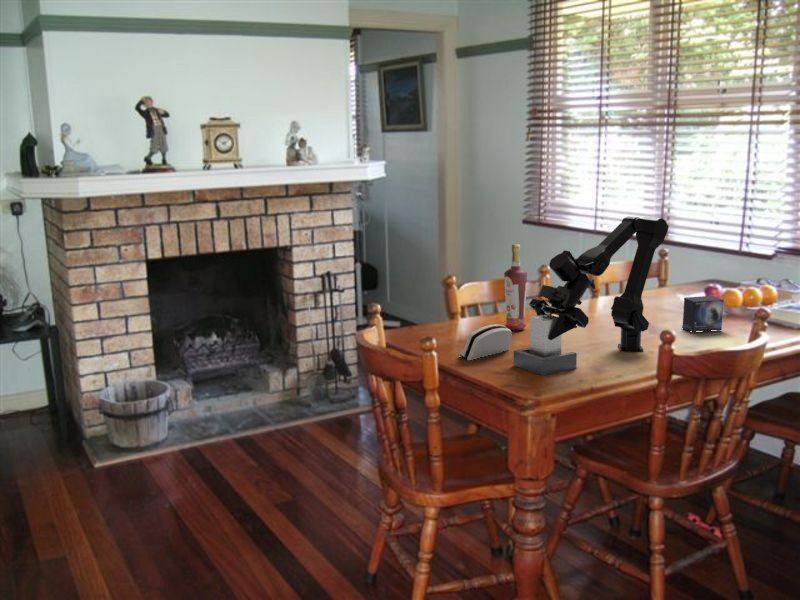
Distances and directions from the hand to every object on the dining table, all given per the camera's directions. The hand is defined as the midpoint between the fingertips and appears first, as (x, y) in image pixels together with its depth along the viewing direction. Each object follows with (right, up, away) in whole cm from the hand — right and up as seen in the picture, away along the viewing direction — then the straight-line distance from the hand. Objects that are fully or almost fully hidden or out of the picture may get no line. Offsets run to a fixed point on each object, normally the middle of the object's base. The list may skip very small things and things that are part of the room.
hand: (541, 336), depth 218 cm
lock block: (+1, -6, +2) cm, 7 cm away
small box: (+58, 0, +39) cm, 70 cm away
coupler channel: (+1, -8, +2) cm, 9 cm away
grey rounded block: (-13, -6, +16) cm, 22 cm away
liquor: (-1, 0, +46) cm, 46 cm away
